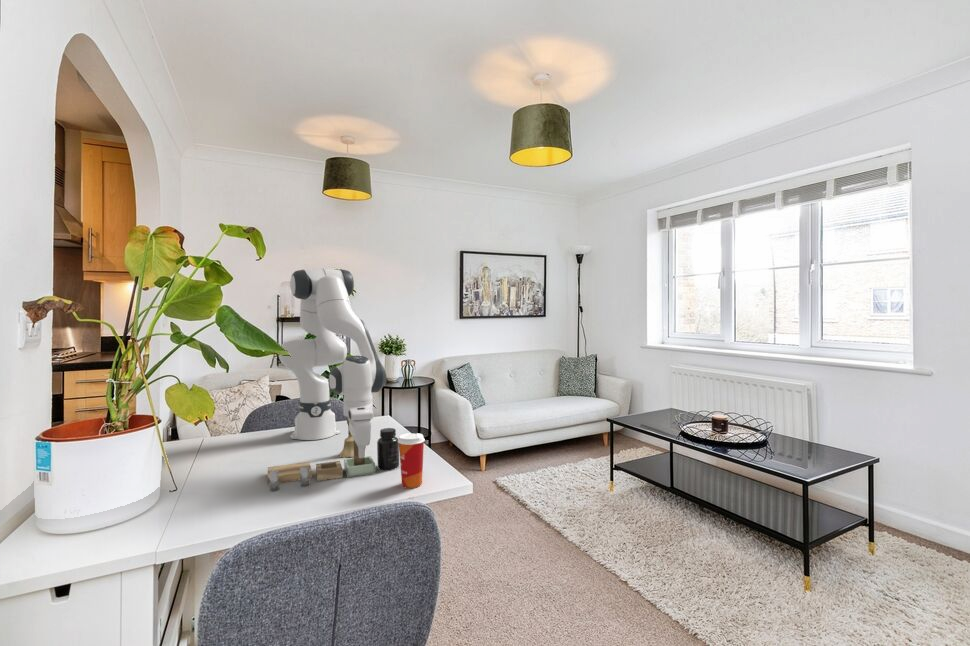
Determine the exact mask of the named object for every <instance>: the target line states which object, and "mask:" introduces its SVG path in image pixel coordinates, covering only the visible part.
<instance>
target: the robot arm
mask: <svg viewBox="0 0 970 646" xmlns="http://www.w3.org/2000/svg"><path fill="white" fill-rule="evenodd" d="M289 287H290V291H291V294H292V295H293V296H294V297H295V298H296V299H299V300H300V311H299V312H300V313H299V315H300V316H299V324H300V327H301V329H303V331H304V332H306V333H308V334H311V335H313V336H315V338H305V339H304V338H303V339H301V338H300V339H292V340H288V341H284V342H283V343H282V344H281V346H282V347H283V348H284V349H286V350H287V351H288V352H289V353H290V354H291V355H292V356H293V358H292V357H290V356H282V355H279V354H278V359H279V361H280V362H281V364H282V365H283V366H284V367H286V368H287V369H289V370H290V371H291V372H292V373H293V374H294V375H295V377H296V379H297V382H298V386H299V398H300V399H299V402H298V403H299V404H298V411H299V413H298V414H297V415H296V416H295V418H294V425H295V426H294V431H293V432H292V433H291V434H290V437H289V438H290V439H292V440H294V439H295V440H302V441H314V440H315V441H316V440H323V439H327V438H331V437H332V436H335V435H338V434H339V435H340V434H341V430H340V429H339V428H338V427H336V414H335V413H334V411H332V410H331V409H332V402H331V399H330V391H331V392H332V393H333V394H335V395H339V396H343V400H342V401H343V402H342V403H343V404H342V405H343V416H344V417H346V418H347V417H348V421H349V431H350V433H351V435H352V437H353V442H354V440H355V442H356V444H357V446H358V457H359V458H364V457H366V454H365V453H366V447H367V446H369V445H371V444H370V443H371V439H372V438H371V437H372V436H371V435H372V419H374V400H373V399H374V397H373V393H378V392H380V391H381V389H383V387H384V386H385V385H386V383H387V373H386V369H385V368H384V366H383V364H382V361H380V358H379V356H378V354H377V350H376V348H375V345H374V343H373V340H372V338H371V336H370V333H369V330H368V328H367V326H366V323H365V322H364V321H363V320H362V319H361V318H359V317H358V316H357V314H356V313H355V312H354V310H353V308H352V305H351V301H350V296H351V295H352V293H353V292H354V289H355V281H354V276H353V274H352V273H351V271H350V270H347V269H342V268H341V269H335V268H317V269H316V268H314V269H313V268H312V269H306V270H305V269H299V270H295V271H294V272H292V275H291V277H290V281H289ZM336 334H338V335H341V336H344V337H346V338H348V339H350V340H352V341H353V342H354V343H355V344H356V345H357V348H358V351H359V353H360V355H349V356H347V355H348V346H347V344H346V343H345V342H344V341H343V340H342V339H341V338H339V337H338V336H337V335H336ZM281 346H280V347H281ZM337 364H338V365H337ZM339 364H340V365H339ZM333 365H336V366H334V367H333V368H332V369H331V370H330V371H329V373H328V378H326V376H324V375H322V374H318V373H315V371H314V369H313V368H314V367H323V366H333Z"/></svg>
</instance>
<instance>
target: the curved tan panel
mask: <svg viewBox="0 0 970 646" xmlns="http://www.w3.org/2000/svg"><path fill="white" fill-rule="evenodd" d="M304 466H308V467H309V479H313V470H312V466H311V463H310V461H305V462H298V463H291V464H283V465H277V466H276V465H275V466H269V467H267V485H269V484H270V479H269V472H270V471H274V470H278V471H279V484H281V482H283V483H288V482H287V481H290V482H295V481H294V480H296V481H300V468H301V467H304ZM269 486H270V485H269Z"/></svg>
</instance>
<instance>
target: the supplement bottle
mask: <svg viewBox="0 0 970 646" xmlns="http://www.w3.org/2000/svg"><path fill="white" fill-rule="evenodd" d="M396 435H397V432H396V428H393V427H387V428H386V427H385V428H382V429H380V430H379V438H378V439H377V442H376V446H377V447H376V448H377V449H376V450H377V451H376V452H377V453H376V454H377V467H378V469H379V470H381V471H392V470H391V469H393V470H395V468H396V469H398V467H399V466H400V453H399V443H398V440H399V437H397V436H396Z"/></svg>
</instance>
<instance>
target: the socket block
mask: <svg viewBox="0 0 970 646" xmlns="http://www.w3.org/2000/svg"><path fill="white" fill-rule="evenodd" d="M315 473H316V480H317V482H321V481H320V480H323V481H328V480H327V479H330V480H335V479H334V478H336V479H343V466H342V464H341V461H340V460H337V461H336V460H335V461H334V460H333V461H329V462H328V461H327V462H321V463H315Z"/></svg>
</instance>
